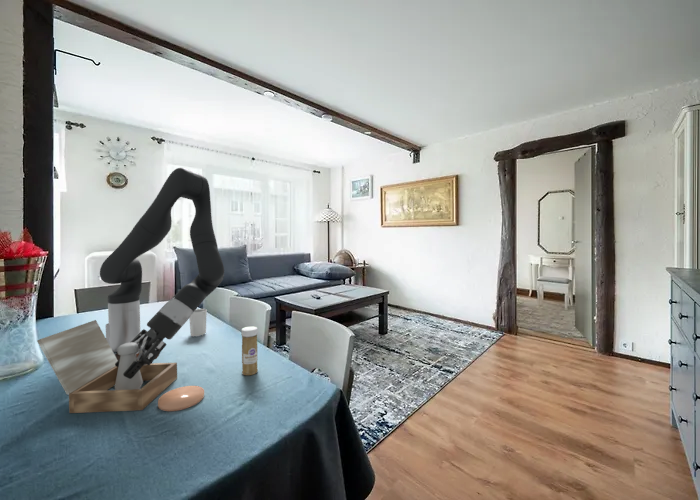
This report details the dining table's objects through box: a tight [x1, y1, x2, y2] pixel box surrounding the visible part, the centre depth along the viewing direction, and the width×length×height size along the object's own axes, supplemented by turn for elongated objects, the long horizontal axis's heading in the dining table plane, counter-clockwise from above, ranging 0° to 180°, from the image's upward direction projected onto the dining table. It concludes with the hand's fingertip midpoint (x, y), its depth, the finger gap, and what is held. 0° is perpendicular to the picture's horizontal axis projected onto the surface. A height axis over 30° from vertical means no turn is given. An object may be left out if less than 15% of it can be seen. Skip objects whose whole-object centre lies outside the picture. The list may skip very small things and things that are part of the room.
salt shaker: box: [114, 342, 144, 390], centre depth 76 cm, size 6×6×13 cm
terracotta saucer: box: [157, 385, 205, 412], centre depth 74 cm, size 10×10×1 cm
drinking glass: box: [188, 308, 208, 337], centre depth 124 cm, size 7×7×10 cm
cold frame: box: [36, 319, 178, 414], centre depth 76 cm, size 22×16×17 cm
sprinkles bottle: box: [240, 325, 259, 376], centre depth 88 cm, size 5×5×13 cm
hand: (122, 371), depth 75 cm, fingers open, 8 cm apart
